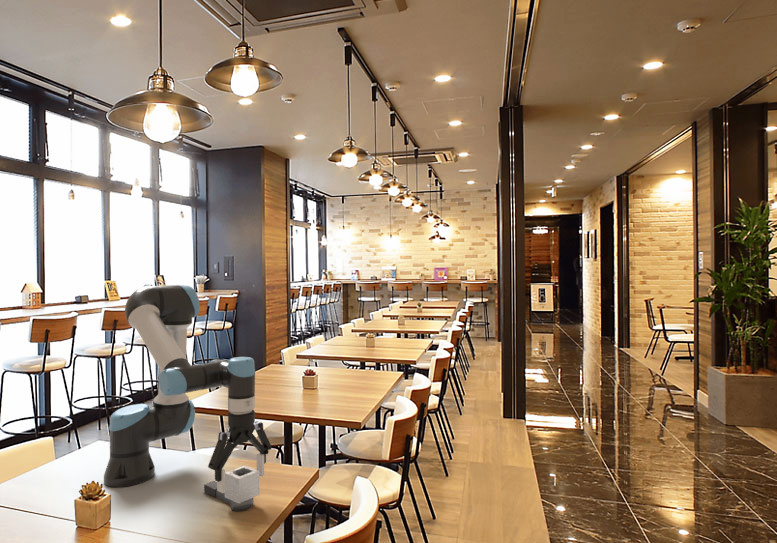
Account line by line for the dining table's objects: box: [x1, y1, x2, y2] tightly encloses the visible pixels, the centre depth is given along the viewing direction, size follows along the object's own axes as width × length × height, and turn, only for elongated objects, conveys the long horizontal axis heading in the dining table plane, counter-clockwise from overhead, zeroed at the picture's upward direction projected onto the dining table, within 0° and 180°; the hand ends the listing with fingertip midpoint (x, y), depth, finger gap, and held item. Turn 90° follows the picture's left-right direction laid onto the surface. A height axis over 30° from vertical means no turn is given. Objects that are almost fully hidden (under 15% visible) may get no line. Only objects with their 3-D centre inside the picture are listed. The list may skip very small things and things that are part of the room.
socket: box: [225, 465, 260, 504], centre depth 141 cm, size 7×7×7 cm
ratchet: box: [203, 475, 254, 512], centre depth 146 cm, size 20×6×8 cm, turn 53°
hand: (241, 483), depth 142 cm, fingers open, 13 cm apart
